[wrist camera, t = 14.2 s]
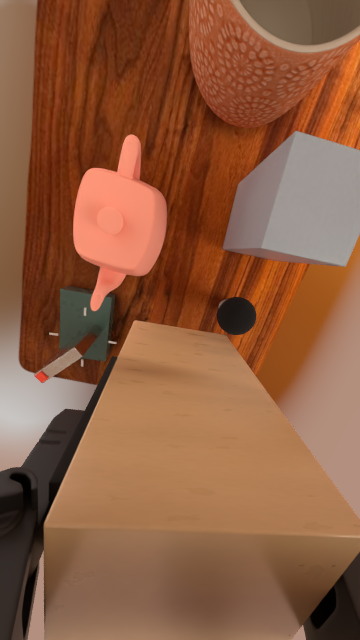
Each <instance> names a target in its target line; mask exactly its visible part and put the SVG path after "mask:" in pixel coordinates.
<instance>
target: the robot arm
mask: <svg viewBox="0 0 360 640" xmlns="http://www.w3.org/2000/svg"><path fill="white" fill-rule="evenodd" d="M117 358H118V357H113V356H112V358H111V360H110V362H109V364H108V366H107V368H106V370H105V372H104V374H103V376H102V378H101V380H100V382H99V384H98V386H97V388H96V390H95V392H94V394H93V396H92V398H91V400H90V402H89V404H88V406H87V407H86V410H85V411H81V410H71V409H65V410H64V411H62V412H61V413H60V414H58V415H57V416H56V417H55V418H54V419H53V420H52V421H51V423H50V425H49V426H48V427H47V429H46V431H45V432H44V434H43V435H42V437H41V438H40V440H39V442H38V443H37V444H36V445H35V447H34V449H33V450H32V451H31V453H30V454H29V456H28V457H27V459H26V460H25V462H24V464H23V465H22V466H21V467H16V468H10V469H7V470H4V471H1V472H0V640H27V639H28V632H29V626H30V620H31V614H32V608H33V603H34V597H35V591H36V585H37V579H38V573H39V560H40V557H41V555H42V552H43V550H44V522H45V519H46V517H47V515H48V513H49V510H50V508H51V506H52V504H53V502H54V499H55V497H56V495H57V493H58V490H59V488H60V486H61V484H62V481H63V479H64V477H65V475H66V472H67V470H68V468H69V466H70V463H71V461H72V459H73V457H74V454H75V452H76V450H77V448H78V445H79V443H80V441H81V439H82V437H83V434H84V432H85V430H86V428H87V425H88V423H89V421H90V419H91V416H92V414H93V412H94V410H95V407H96V405H97V403H98V401H99V398H100V396H101V394H102V392H103V389H104V387H105V385H106V383H107V380H108V378H109V376H110V374H111V372H112V369H113V367H114V365H115V363H116V360H117ZM303 626H304V631H305V636H306V640H360V552H359V553H358V555H357V556H356V557H355V558H354V560H353V561H352V562H351V563H350V565H349V566H348V567H347V569H346V570H345V571H344V572H343V574H342V575H341V576H340V578H339V579H338V580H337V581H336V583H335V584H334V585H333V587H332V588H331V589H330V590H329V592H328V593H327V594H326V596H325V597H324V598H323V599H322V601H321V602H320V603H319V604H318V606H317V607H316V608H315V610H314V611H313V612H312V613H311V615H310V616H309V617H308V619H307V620H306V621H305V622H304V624H303Z"/></svg>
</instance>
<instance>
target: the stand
mask: <svg viewBox="0 0 360 640" xmlns="http://www.w3.org/2000/svg"><path fill="white" fill-rule="evenodd" d="M359 234H360V150H358V149H354V148H351V147H348V146H344V145H341V144H338V143H335V142H331V141H328V140H325V139H322V138H318V137H315V136H312V135H308V134H305V133H302V132H299V131H295V132H294V133H293V134H292V135H291V136H290V137H289V138H288V139H286V140H285V141H284V142H283V143H282V144H281V145H280V146H279V147H278V148H277V149H276V150H275V151H273V152H272V153H271V154H270V155H269V156H268V157H267V158H266V159H265V160H264V161H263V162H261V163H260V164H259V165H258V166H257V167H256V168H255V169H254V170H253V171H252V172H251V173H249V174H248V175H247V176H246V177H245V178H244V179H243V180H242V181H241V182H240V183H239V184H238V187H237V191H236V195H235V199H234V203H233V207H232V211H231V216H230V220H229V224H228V228H227V232H226V236H225V240H224V244H223V248H222V249H223V250H227V251H232V252H237V253H241V254H246V255H251V256H256V257H260V258H265V259H270V260H274V261H285V262H296V263H308V264H320V265H331V266H343V267H344V266H346V264H347V262H348V260H349V257H350V255H351V253H352V250H353V248H354V246H355V243H356V241H357V239H358V236H359Z"/></svg>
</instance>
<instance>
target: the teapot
mask: <svg viewBox="0 0 360 640" xmlns="http://www.w3.org/2000/svg"><path fill="white" fill-rule="evenodd" d="M140 167H141V144H140V141H139V139H138V138H137V137H136V136H135V135H129V136H127V137H126V139H125V141H124V144H123V147H122V151H121V156H120V161H119V166H118V172H115V171H111V170H106V169H102V168H92V169H89V170H88V171H87V172H86V173H85V175H84V177H83V179H82V181H81V184H80V187H79V191H78V195H77V200H76V204H75V210H74V223H73V238H74V245H75V248H76V251H77V253H78V254H79V255H80V256H81V257H82V258H83V259H84V260H86V261H88V262H90V263H92V264H95V265H97V266H100V271H99V276H98V280H97V284H96V287H95V290H94V292H93V295H92V297H91V302H90V306H91V309H92V311H97V310H98V309H99V308H100V306H101V304H102V302H103V300H104V298H105V296H106V295H107V294H108V293H109V292H110V291H112V290H114V289H115V288H117V287H118V286H119V285H120V284H121V283H122V282H123V280H124V278H125V276H126V275H133V276H143V275H146V274H147V273H148V272H149V271H150V270H151V269H152V267H153V266H154V264H155V262H156V260H157V258H158V256H159V254H160V251H161V249H162V246H163V242H164V238H165V233H166V225H167V205H166V201H165V198H164V196H163V195H162V193H161V192H160V191H159V190H157V189H156V188H154V187H152V186H150V185H148V184H146V183H144V182H142V181H140Z"/></svg>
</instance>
